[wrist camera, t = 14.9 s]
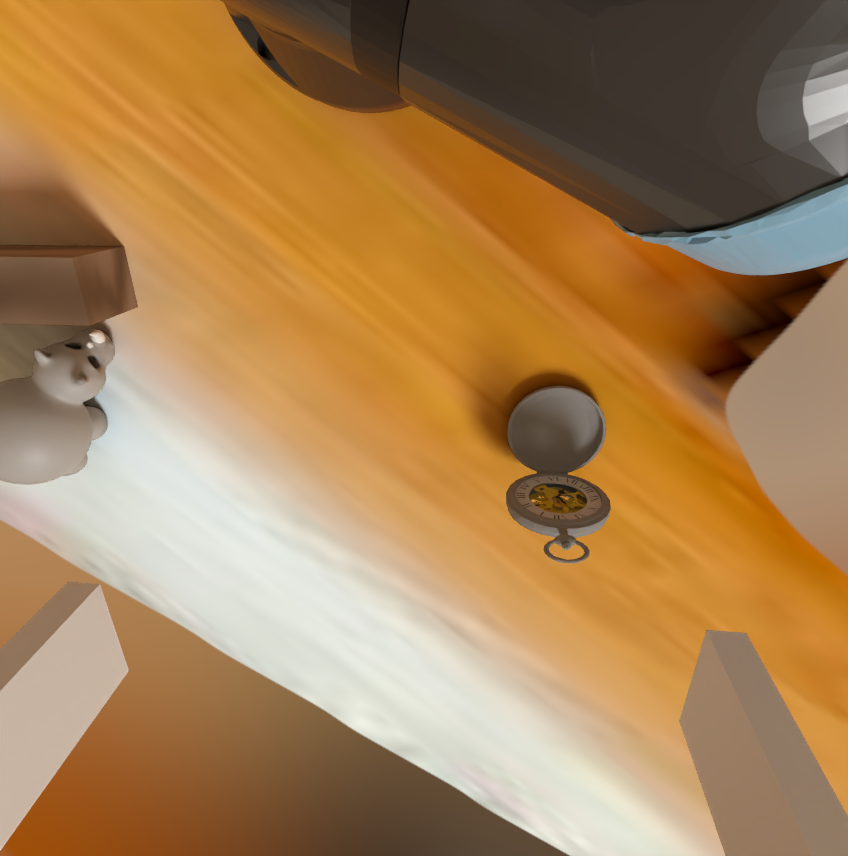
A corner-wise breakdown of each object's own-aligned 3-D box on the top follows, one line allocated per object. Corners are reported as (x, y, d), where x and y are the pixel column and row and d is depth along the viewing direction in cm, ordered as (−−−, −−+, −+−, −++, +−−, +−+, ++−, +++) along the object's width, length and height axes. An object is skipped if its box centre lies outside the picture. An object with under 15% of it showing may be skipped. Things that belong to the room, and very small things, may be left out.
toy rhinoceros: (171, 362, 42) (129, 367, 34) (81, 485, 43) (18, 519, 34) (87, 304, 41) (21, 293, 32) (-6, 431, 41) (-94, 453, 33)
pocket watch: (574, 364, 36) (603, 429, 27) (631, 459, 39) (674, 547, 30) (470, 423, 39) (465, 500, 30) (530, 508, 41) (541, 603, 32)
